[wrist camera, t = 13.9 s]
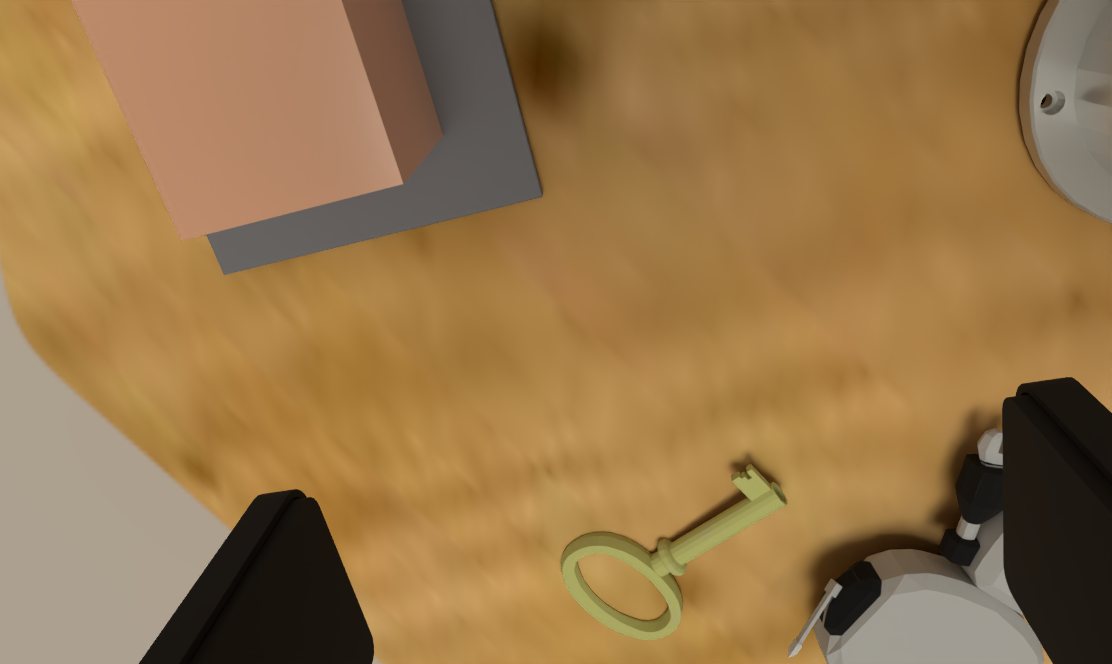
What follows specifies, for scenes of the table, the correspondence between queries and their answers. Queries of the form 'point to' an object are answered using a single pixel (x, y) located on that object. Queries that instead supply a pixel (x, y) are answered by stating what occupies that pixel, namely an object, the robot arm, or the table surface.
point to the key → (667, 557)
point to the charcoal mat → (450, 167)
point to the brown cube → (264, 101)
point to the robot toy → (933, 591)
